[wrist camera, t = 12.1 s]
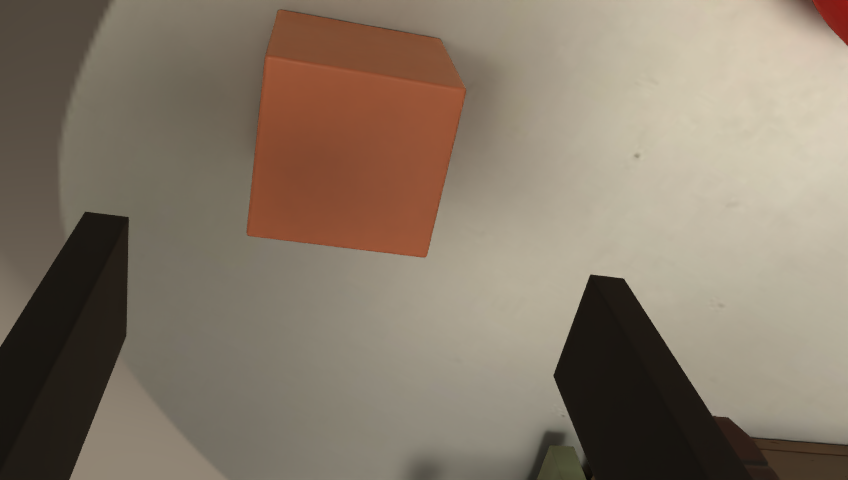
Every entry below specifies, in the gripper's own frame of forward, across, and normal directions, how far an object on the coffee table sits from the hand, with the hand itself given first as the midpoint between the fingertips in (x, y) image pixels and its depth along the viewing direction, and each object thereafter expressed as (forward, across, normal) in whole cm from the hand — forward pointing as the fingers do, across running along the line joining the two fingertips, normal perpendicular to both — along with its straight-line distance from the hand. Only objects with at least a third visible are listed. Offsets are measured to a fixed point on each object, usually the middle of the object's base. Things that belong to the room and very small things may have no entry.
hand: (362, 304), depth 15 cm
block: (+13, 0, 0) cm, 13 cm away
